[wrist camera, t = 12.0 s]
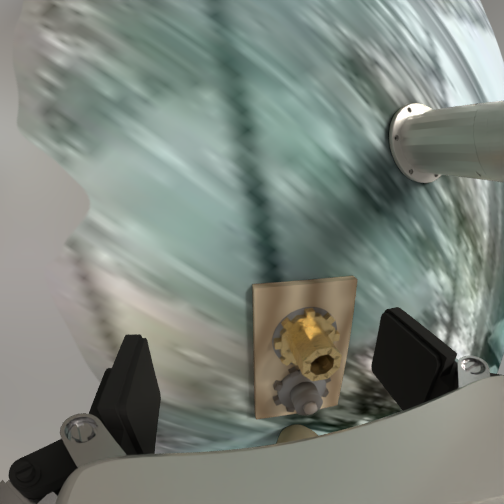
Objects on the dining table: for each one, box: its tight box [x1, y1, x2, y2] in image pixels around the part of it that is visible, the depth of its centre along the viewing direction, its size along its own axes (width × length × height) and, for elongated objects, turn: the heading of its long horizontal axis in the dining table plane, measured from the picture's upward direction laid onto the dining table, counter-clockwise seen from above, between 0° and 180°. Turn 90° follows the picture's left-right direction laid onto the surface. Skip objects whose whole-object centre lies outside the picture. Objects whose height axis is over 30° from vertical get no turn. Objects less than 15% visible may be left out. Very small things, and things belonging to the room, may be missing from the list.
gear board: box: [252, 276, 357, 419], centre depth 41 cm, size 15×25×7 cm, turn 1°
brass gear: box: [273, 308, 342, 381], centre depth 39 cm, size 10×10×7 cm
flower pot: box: [276, 425, 318, 444], centre depth 47 cm, size 10×10×7 cm
